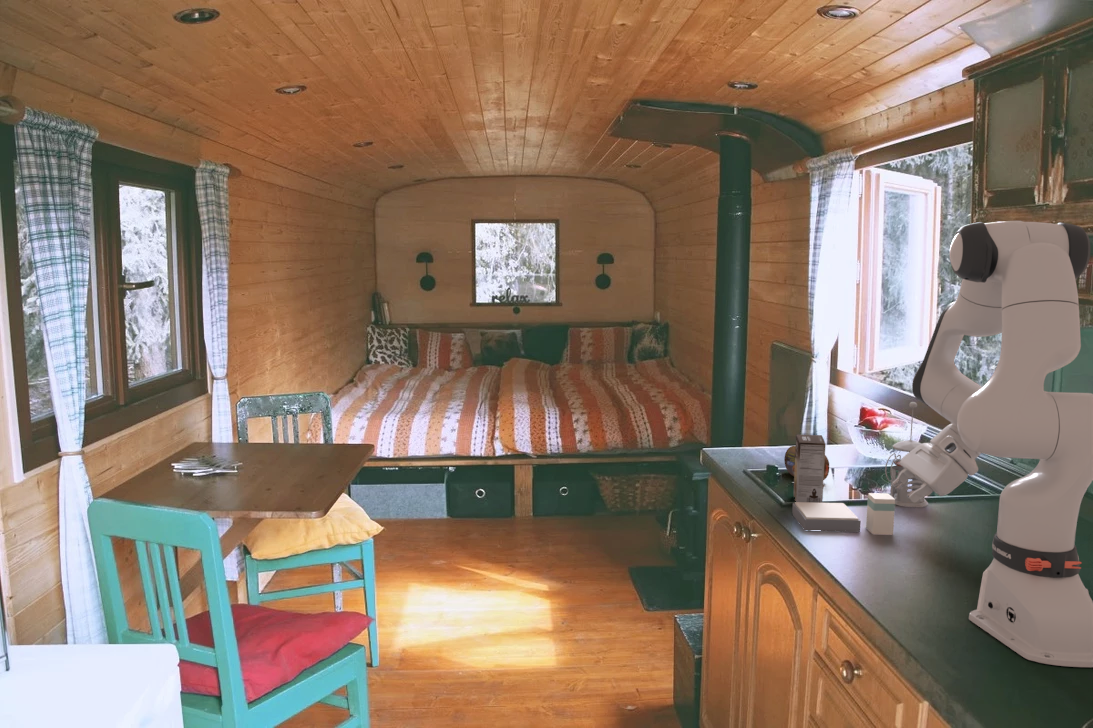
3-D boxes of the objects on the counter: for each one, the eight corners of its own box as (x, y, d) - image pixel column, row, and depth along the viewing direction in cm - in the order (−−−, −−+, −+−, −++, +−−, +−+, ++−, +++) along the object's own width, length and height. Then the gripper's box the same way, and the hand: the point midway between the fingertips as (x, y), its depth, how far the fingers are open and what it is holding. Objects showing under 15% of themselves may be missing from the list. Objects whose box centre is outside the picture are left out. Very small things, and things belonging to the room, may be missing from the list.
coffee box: (792, 495, 210) (795, 433, 208) (818, 497, 209) (822, 434, 207) (795, 506, 201) (798, 441, 199) (823, 508, 200) (826, 443, 198)
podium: (860, 532, 183) (860, 518, 183) (804, 530, 184) (805, 517, 183) (844, 515, 195) (844, 502, 195) (792, 513, 196) (792, 501, 195)
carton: (893, 535, 181) (895, 499, 180) (872, 534, 182) (874, 499, 181) (886, 528, 186) (888, 493, 185) (865, 527, 186) (867, 493, 185)
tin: (782, 472, 233) (784, 442, 232) (791, 471, 234) (793, 441, 233) (821, 486, 219) (823, 454, 218) (830, 484, 221) (832, 453, 219)
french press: (937, 504, 203) (944, 404, 200) (901, 509, 199) (907, 407, 196) (906, 493, 212) (913, 397, 209) (871, 498, 208) (876, 400, 205)
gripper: (923, 430, 191) (877, 470, 193) (961, 451, 170) (909, 496, 172) (941, 449, 191) (895, 489, 193) (982, 473, 171) (930, 518, 173)
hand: (902, 493), depth 183 cm, fingers open, 8 cm apart
